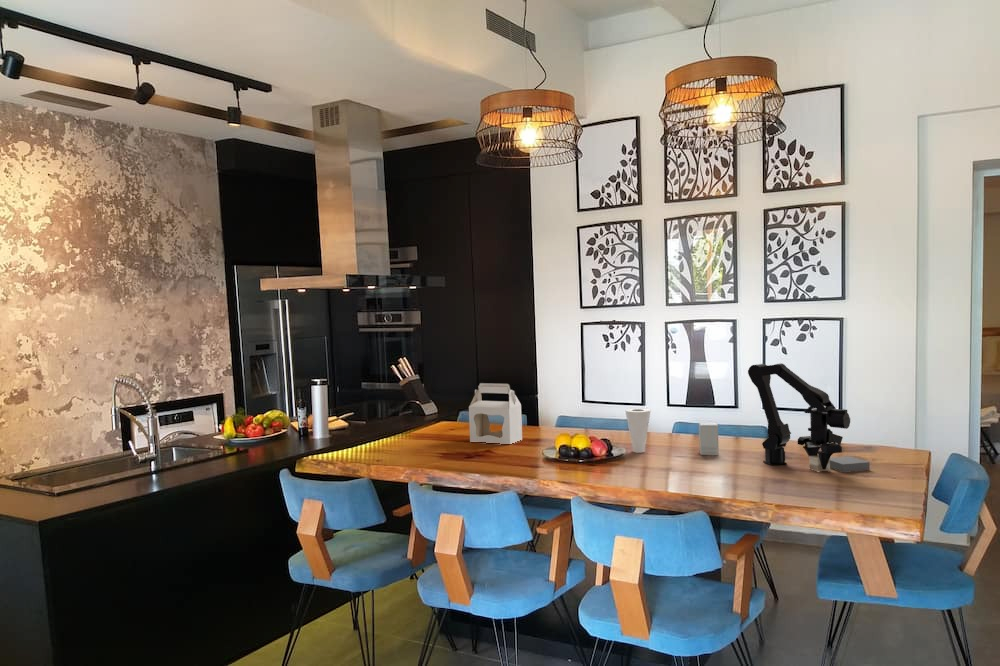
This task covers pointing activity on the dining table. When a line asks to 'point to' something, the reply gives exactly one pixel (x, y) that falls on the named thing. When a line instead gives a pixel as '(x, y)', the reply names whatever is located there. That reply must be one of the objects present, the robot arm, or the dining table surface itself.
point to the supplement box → (708, 439)
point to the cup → (638, 427)
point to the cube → (817, 464)
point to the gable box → (504, 408)
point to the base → (848, 464)
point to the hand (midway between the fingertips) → (819, 467)
